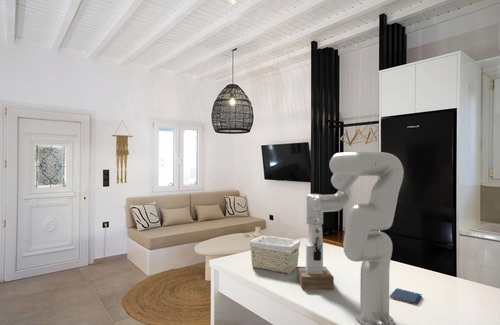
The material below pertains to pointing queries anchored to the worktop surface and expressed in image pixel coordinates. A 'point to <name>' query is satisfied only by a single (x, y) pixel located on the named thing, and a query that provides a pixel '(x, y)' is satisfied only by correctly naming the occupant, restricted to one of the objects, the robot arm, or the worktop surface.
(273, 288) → the worktop surface
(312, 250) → the supplement box
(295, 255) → the storage basket
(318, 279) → the walnut block
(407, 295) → the woven mat
